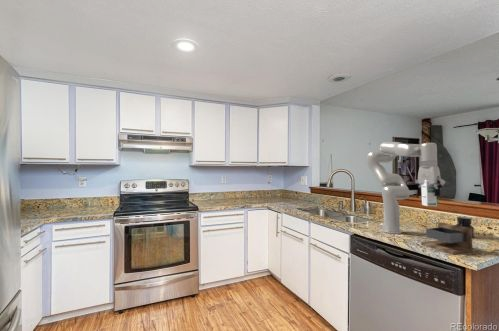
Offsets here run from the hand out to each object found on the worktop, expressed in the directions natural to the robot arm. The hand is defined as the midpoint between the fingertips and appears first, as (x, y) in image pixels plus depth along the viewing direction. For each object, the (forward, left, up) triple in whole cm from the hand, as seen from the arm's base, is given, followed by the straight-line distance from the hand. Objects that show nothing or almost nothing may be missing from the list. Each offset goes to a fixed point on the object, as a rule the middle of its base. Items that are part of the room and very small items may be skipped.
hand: (429, 195), depth 134 cm
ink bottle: (-7, +41, -29) cm, 50 cm away
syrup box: (0, 0, -6) cm, 6 cm away
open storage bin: (+6, +4, -23) cm, 24 cm away
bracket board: (+6, +4, -28) cm, 29 cm away
